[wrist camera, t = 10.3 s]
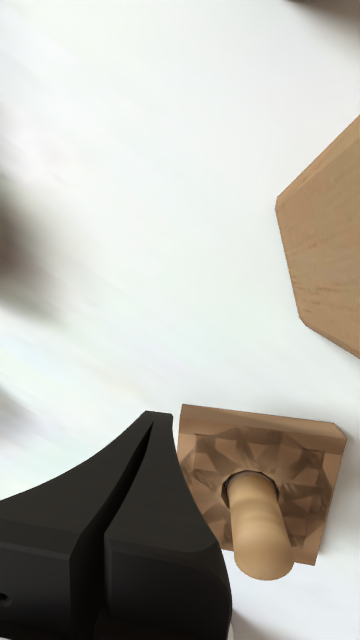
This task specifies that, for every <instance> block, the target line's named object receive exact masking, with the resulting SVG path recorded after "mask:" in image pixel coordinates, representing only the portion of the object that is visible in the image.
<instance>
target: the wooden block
mask: <svg viewBox="0 0 360 640" xmlns="http://www.w3.org/2000/svg"><path fill="white" fill-rule="evenodd" d="M275 211H276V216H277V220H278V225H279V229H280V234H281V238H282V243H283V247H284V252H285V256H286V260H287V265H288V269H289V274H290V278H291V283H292V287H293V292H294V296H295V301H296V305H297V309H298V314H299V318H300V319H301V320H302V322H303V323H304V324H305V326H307V327H309V328H310V329H312V330H314V331H315V332H317V333H318V334H320V335H322V336H323V337H325V338H327V339H328V340H330V341H332V342H333V343H335V344H336V345H338V346H340V347H341V348H343V349H345V350H346V351H348V352H350V353H351V354H353V355H354V356H356V357H358V358H359V359H360V115H359V116H358V117H357V118H356V119H355V120H354V121H353V122H352V123H351V124H350V125H349V126H348V127H347V128H346V129H345V130H344V131H343V132H342V133H341V134H340V135H339V136H338V137H337V138H336V139H335V140H334V141H333V142H332V143H331V144H330V145H329V146H328V147H327V148H326V149H325V150H324V151H323V152H322V153H321V154H320V155H319V156H318V157H317V158H316V159H315V160H314V161H313V162H312V163H311V164H310V165H309V166H308V167H307V168H306V169H305V170H304V171H303V172H302V173H301V174H300V175H299V176H298V177H297V178H296V179H295V180H294V181H293V182H292V183H291V184H290V185H289V186H288V187H287V188H286V189H285V190H284V191H283V192H282V193H281V194H280V195H279V196H278V197H277V200H276V206H275Z"/></svg>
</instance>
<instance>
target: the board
mask: <svg viewBox="0 0 360 640" xmlns="http://www.w3.org/2000/svg"><path fill="white" fill-rule="evenodd" d="M346 440H347V439H346V438H345V436H344V435H343V434H342V433H341V431H340V430H339V429H338V428H337V426H336V425H335V424H334V423H329V422H322V421H314V420H306V419H298V418H290V417H282V416H274V415H266V414H258V413H250V412H242V411H234V410H226V409H219V408H211V407H203V406H195V405H187V404H182V409H181V414H180V422H179V435H178V447H177V457H178V460H179V464H180V467H181V470H182V473H183V475H184V478H185V480H186V483H187V485H188V488H189V490H190V492H191V494H192V496H193V498H194V500H195V502H196V504H197V506H198V508H199V510H200V512H201V514H202V515H203V517H204V519H205V521H206V522H207V524H208V526H209V527H210V529H211V530H212V532H213V533H214V535H215V536H216V538H217V540H218V541H219V544H220V547H221V549H223V550H229V551H234V548H233V537H232V526H231V514H230V503H229V498H228V494H227V488H225V486H224V484H223V483H224V482H225V480H226V479H227V478H228V477H229V476H230V475H231V474H233V473H237V472H240V471H243V470H251V471H258V472H262V473H264V474H265V475H267V476H268V477H270V478H271V479H273V480H272V482H273V484H274V487H275V490H276V498H277V501H278V505H279V508H280V511H281V515H282V518H283V522H284V525H285V528H286V532H287V535H288V538H289V542H290V545H291V549H292V552H293V556H294V562H296V563H302V564H307V565H313V566H315V562H316V558H317V554H318V550H319V546H320V542H321V538H322V535H323V531H324V527H325V523H326V519H327V515H328V511H329V507H330V503H331V499H332V495H333V491H334V487H335V483H336V479H337V475H338V471H339V467H340V464H341V460H342V456H343V452H344V448H345V444H346Z"/></svg>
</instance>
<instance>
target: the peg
mask: <svg viewBox="0 0 360 640" xmlns="http://www.w3.org/2000/svg"><path fill="white" fill-rule="evenodd" d="M227 494H228V498H229V503H230V514H231V526H232V537H233V548H234V559H235V562H236V564H237V566H238V568H239V569H240V570H241V571H242V572H243V573H245V574H246V575H248V576H250V577H252V578H255V579H258V580H275V579H279V578H281V577H283V576H285V575H286V574H288V573H289V572H290V570H291V569H292V567H293V564H294V556H293V552H292V549H291V545H290V542H289V538H288V535H287V532H286V528H285V525H284V522H283V518H282V515H281V511H280V508H279V505H278V501H277V498H276V490H275V487H274V484H273V482H272V480H271V479H270V478H269V477H268V476H267V475H265V474H264V473H262V472H258V471H251V470H243V471H240V472H237V473H233V474H231V475H230V480H229V482H228V485H227Z"/></svg>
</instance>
